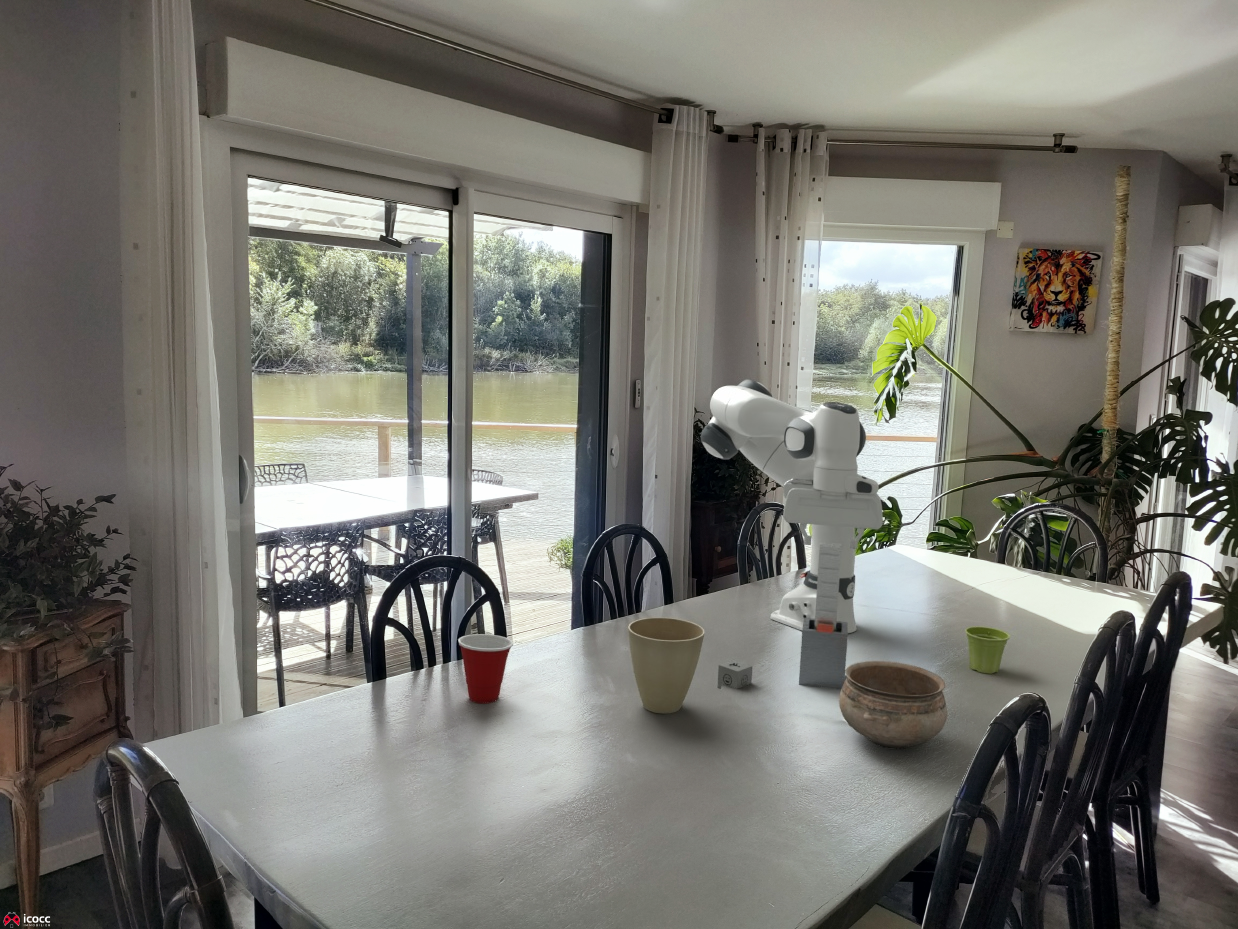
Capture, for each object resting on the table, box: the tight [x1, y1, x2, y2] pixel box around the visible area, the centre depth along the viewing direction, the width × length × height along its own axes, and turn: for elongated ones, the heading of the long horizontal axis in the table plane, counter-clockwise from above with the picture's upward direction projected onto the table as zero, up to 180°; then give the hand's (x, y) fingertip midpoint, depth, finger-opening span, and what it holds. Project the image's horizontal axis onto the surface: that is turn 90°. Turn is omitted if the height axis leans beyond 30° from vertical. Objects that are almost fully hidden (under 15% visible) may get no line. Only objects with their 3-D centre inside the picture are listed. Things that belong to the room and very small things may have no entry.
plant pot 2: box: [964, 626, 1011, 674], centre depth 206 cm, size 9×9×9 cm
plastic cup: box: [457, 633, 514, 704], centre depth 179 cm, size 11×11×12 cm
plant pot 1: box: [627, 617, 705, 715], centre depth 177 cm, size 15×15×16 cm
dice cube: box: [717, 659, 753, 690], centre depth 189 cm, size 5×5×5 cm
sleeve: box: [798, 618, 849, 691], centre depth 192 cm, size 16×16×14 cm
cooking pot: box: [838, 660, 948, 750], centre depth 165 cm, size 25×19×12 cm
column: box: [814, 542, 842, 632], centre depth 190 cm, size 4×5×20 cm
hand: (830, 546), depth 189 cm, fingers open, 8 cm apart
